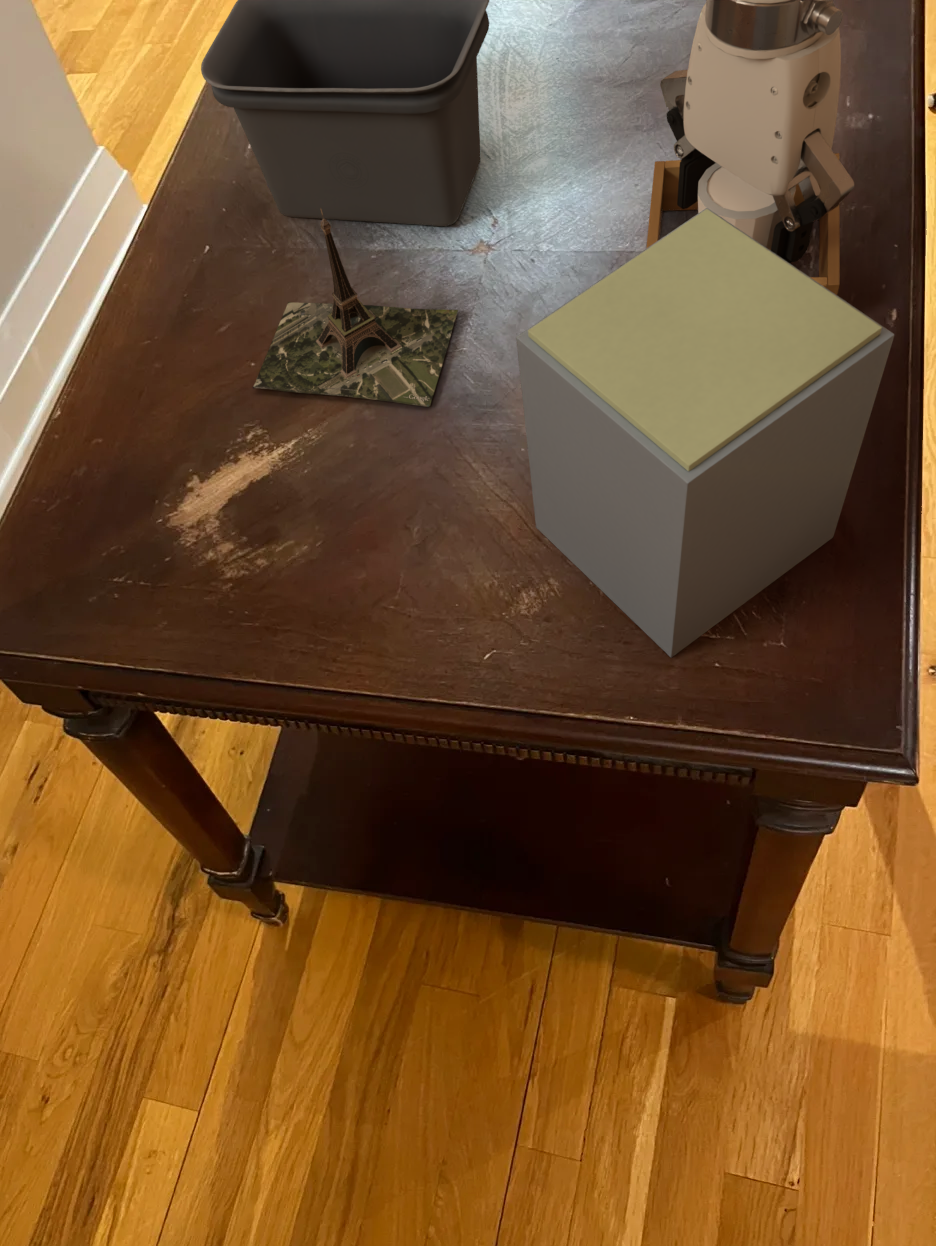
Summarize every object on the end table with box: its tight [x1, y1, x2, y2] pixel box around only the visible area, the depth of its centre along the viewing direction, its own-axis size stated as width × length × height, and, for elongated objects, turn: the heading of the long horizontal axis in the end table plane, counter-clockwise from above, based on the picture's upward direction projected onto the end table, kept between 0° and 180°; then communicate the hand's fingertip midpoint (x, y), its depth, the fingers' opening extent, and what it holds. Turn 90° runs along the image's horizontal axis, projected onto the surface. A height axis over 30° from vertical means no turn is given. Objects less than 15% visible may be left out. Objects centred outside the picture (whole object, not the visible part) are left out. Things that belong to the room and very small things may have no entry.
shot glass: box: [697, 163, 796, 251], centre depth 81 cm, size 7×7×7 cm
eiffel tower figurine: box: [252, 208, 459, 408], centre depth 82 cm, size 15×10×13 cm
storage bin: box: [200, 0, 490, 227], centre depth 90 cm, size 21×16×14 cm
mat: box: [528, 209, 882, 471], centre depth 59 cm, size 13×13×1 cm
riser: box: [515, 208, 895, 658], centre depth 67 cm, size 14×14×18 cm
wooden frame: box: [645, 152, 841, 296], centre depth 83 cm, size 14×14×4 cm
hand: (740, 229), depth 82 cm, fingers open, 9 cm apart
